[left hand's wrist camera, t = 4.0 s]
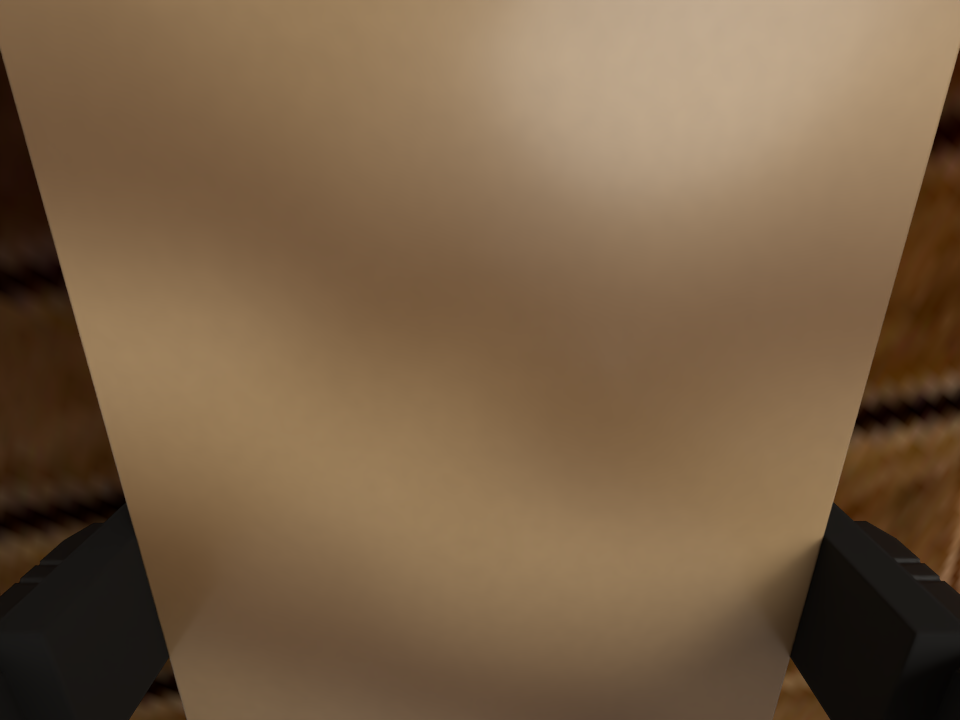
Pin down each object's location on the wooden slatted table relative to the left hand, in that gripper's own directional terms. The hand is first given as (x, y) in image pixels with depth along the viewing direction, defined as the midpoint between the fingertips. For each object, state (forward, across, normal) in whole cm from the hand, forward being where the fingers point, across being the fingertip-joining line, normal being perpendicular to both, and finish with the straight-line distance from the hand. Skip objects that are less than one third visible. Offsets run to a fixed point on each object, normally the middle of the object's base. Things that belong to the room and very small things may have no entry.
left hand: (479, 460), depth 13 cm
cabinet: (+4, 0, -6) cm, 7 cm away
